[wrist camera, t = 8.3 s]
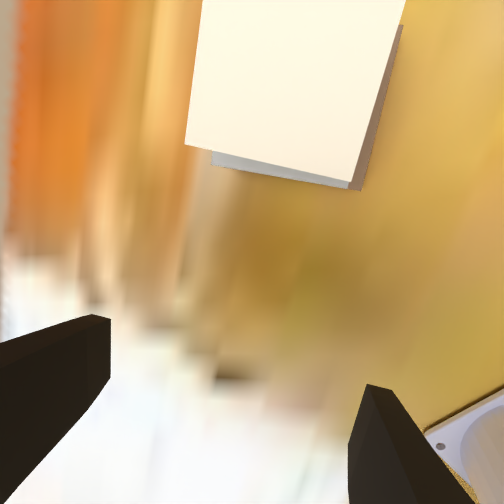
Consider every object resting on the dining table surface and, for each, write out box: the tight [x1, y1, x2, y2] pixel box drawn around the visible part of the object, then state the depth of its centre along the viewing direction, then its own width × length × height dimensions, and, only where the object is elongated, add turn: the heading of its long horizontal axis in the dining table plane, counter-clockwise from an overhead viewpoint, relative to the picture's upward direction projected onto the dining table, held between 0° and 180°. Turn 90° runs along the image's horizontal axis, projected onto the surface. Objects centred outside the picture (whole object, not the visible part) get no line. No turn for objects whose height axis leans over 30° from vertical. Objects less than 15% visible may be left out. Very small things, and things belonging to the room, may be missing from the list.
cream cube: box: [185, 0, 406, 182], centre depth 10 cm, size 4×4×4 cm
